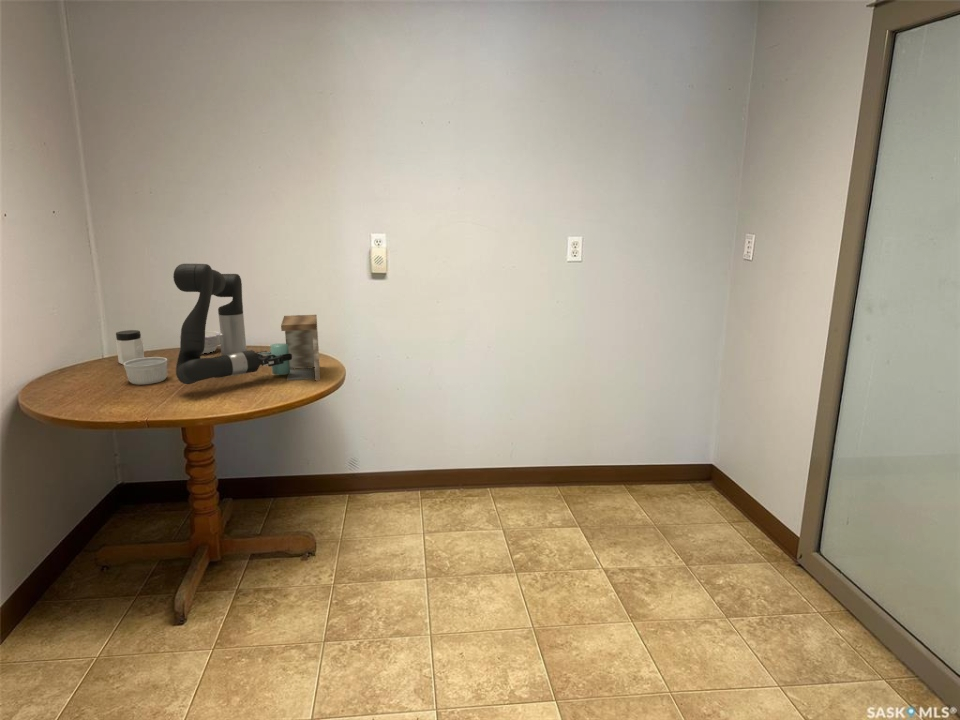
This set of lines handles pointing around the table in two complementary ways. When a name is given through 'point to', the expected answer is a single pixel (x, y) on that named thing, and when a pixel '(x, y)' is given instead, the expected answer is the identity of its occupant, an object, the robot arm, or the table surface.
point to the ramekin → (146, 370)
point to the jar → (129, 345)
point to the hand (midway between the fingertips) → (286, 354)
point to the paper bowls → (211, 341)
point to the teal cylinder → (278, 350)
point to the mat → (301, 374)
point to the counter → (302, 341)
